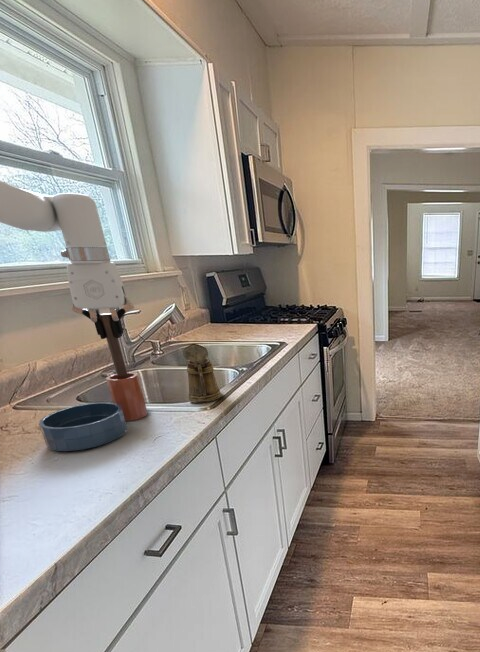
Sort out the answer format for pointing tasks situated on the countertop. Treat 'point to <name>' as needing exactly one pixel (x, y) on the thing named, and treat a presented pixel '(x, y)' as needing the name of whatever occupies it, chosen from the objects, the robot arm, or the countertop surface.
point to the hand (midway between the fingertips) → (111, 336)
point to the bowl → (83, 426)
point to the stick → (114, 346)
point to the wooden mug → (200, 375)
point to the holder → (128, 395)
